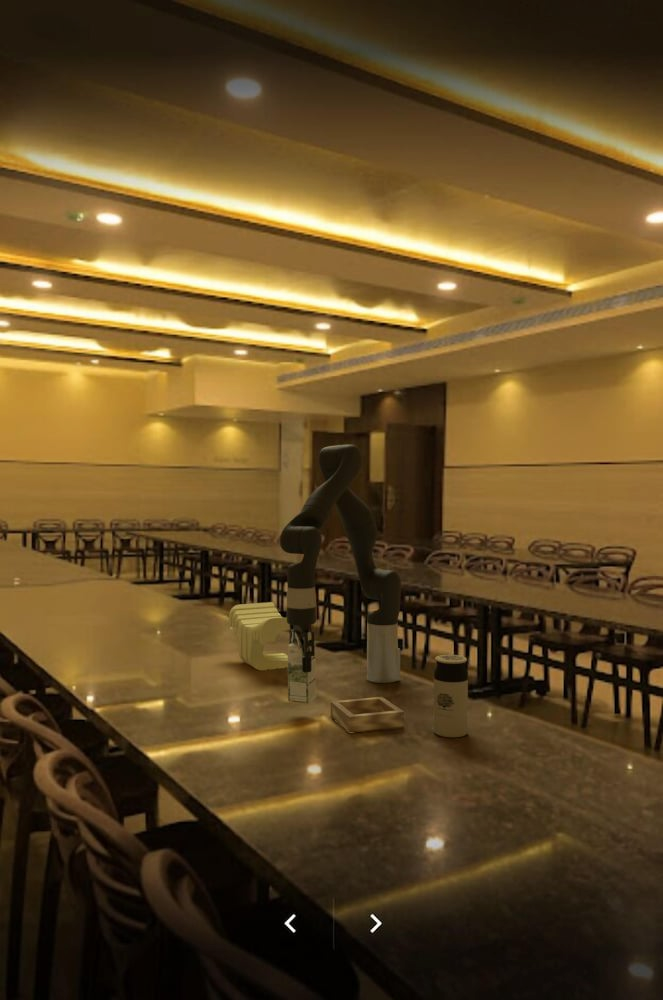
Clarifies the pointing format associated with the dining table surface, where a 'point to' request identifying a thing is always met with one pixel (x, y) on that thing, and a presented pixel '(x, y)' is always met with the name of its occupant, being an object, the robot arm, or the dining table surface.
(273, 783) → the dining table surface
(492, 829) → the dining table surface
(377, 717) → the socket block
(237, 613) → the slatted curved stool
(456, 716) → the travel mug
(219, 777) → the dining table surface
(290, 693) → the syrup box
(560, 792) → the dining table surface
